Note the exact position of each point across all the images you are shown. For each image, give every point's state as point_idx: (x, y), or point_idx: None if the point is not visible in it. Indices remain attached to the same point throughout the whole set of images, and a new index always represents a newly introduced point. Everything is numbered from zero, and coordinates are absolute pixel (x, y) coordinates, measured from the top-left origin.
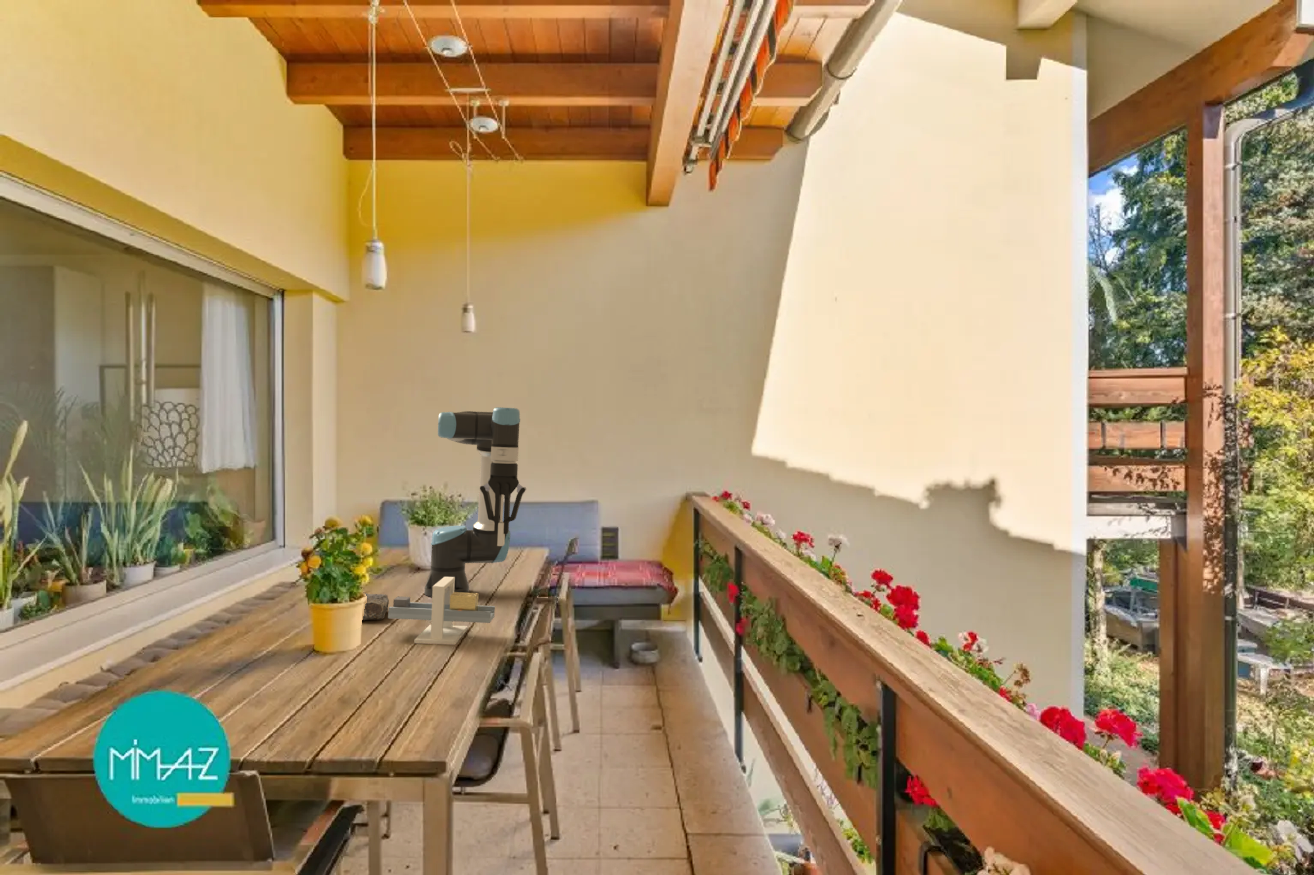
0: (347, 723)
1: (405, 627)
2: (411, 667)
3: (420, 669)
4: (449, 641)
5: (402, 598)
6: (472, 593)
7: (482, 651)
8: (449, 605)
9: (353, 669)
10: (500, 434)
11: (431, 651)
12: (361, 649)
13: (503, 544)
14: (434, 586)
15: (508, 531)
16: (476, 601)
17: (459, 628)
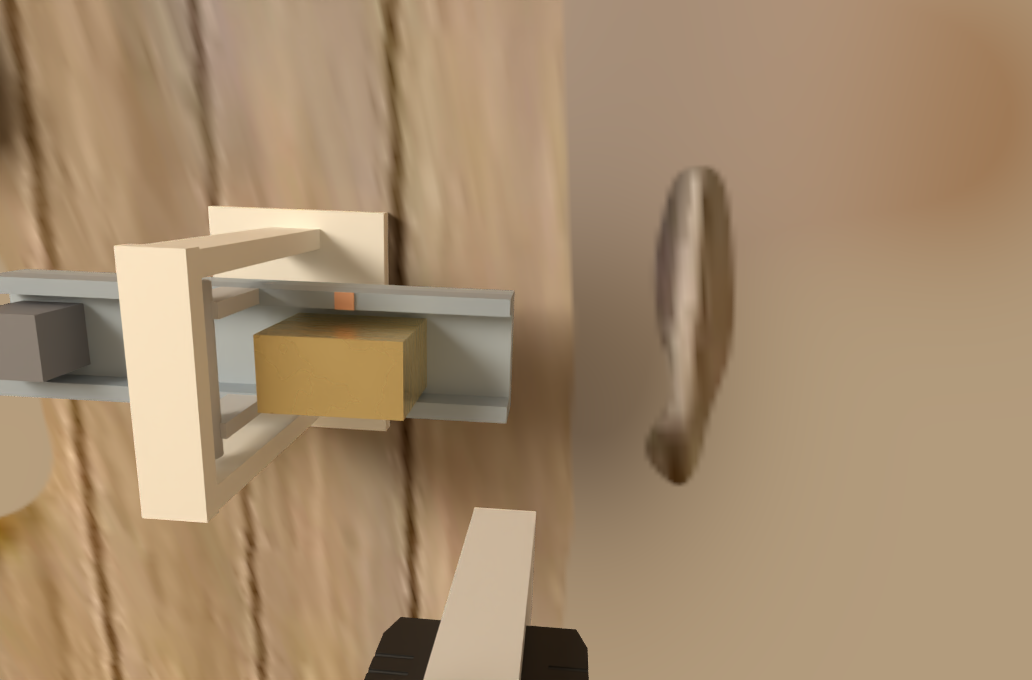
0: None
1: (112, 202)
2: (312, 654)
3: (346, 671)
4: (363, 428)
5: (10, 352)
6: (368, 354)
7: (513, 500)
8: (265, 304)
9: (146, 668)
10: None
11: (325, 504)
12: (77, 489)
13: (533, 570)
14: (153, 517)
15: (586, 663)
16: (411, 380)
17: (357, 255)
